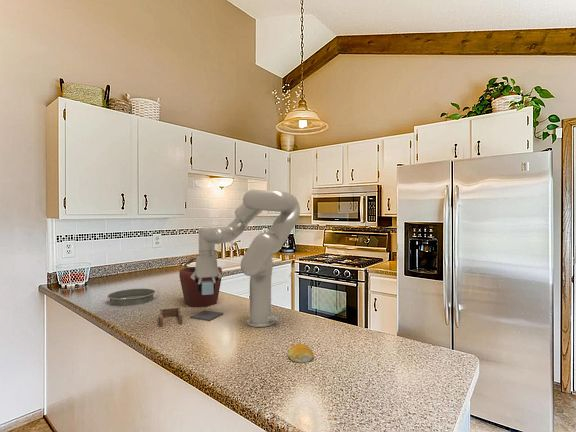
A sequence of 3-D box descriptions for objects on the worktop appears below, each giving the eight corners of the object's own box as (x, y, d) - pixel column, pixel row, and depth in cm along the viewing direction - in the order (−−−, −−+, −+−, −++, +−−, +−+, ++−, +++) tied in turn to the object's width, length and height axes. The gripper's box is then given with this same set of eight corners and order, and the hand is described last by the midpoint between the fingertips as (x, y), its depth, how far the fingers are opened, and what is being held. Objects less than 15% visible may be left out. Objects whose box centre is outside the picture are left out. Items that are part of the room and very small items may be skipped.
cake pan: (108, 298, 191) (108, 290, 191) (154, 294, 201) (154, 286, 201) (105, 309, 169) (105, 300, 169) (156, 303, 179) (156, 295, 179)
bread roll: (307, 351, 116) (307, 339, 116) (316, 362, 107) (316, 349, 107) (285, 353, 114) (285, 341, 114) (291, 364, 105) (291, 352, 105)
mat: (223, 314, 159) (223, 312, 159) (209, 321, 148) (209, 319, 148) (204, 311, 163) (204, 310, 163) (189, 318, 153) (189, 316, 153)
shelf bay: (182, 324, 144) (182, 316, 144) (160, 327, 141) (160, 318, 141) (179, 314, 158) (179, 307, 158) (159, 317, 154) (159, 309, 154)
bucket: (173, 302, 182) (173, 257, 182) (209, 295, 196) (209, 253, 196) (193, 311, 163) (193, 261, 163) (231, 303, 178) (231, 257, 178)
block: (213, 294, 153) (213, 283, 153) (202, 295, 151) (202, 284, 151) (210, 290, 159) (211, 280, 159) (200, 291, 157) (200, 281, 157)
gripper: (223, 251, 162) (222, 288, 162) (187, 253, 156) (187, 291, 156) (226, 253, 155) (225, 292, 155) (188, 255, 149) (188, 295, 149)
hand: (206, 291), depth 156 cm, fingers closed on block, 5 cm apart
